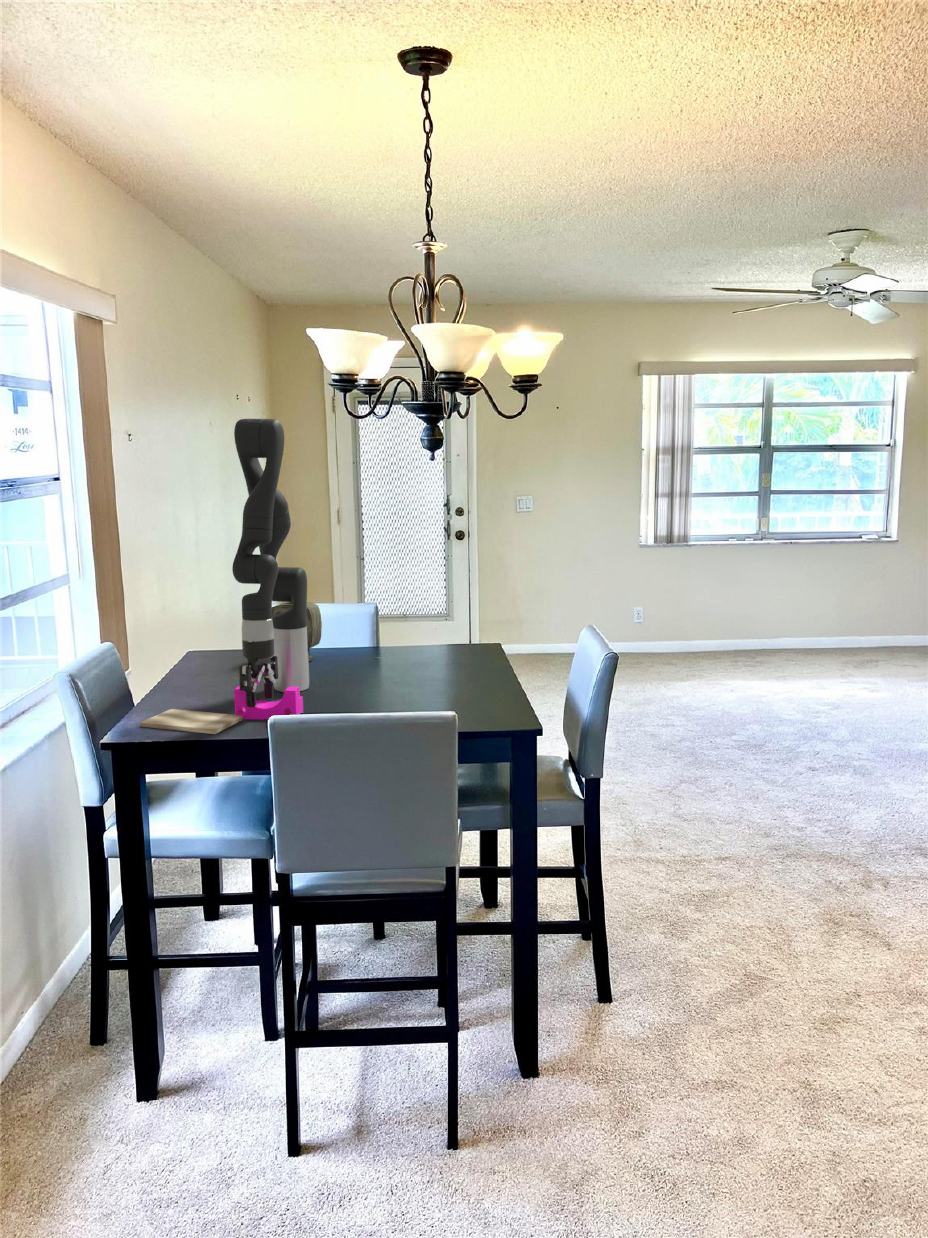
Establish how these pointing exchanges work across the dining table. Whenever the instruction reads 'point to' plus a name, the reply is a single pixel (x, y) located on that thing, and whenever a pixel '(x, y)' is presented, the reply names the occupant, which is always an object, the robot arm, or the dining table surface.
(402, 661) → the dining table surface
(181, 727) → the oak board
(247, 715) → the magenta cradle block
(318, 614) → the tabletop clock
